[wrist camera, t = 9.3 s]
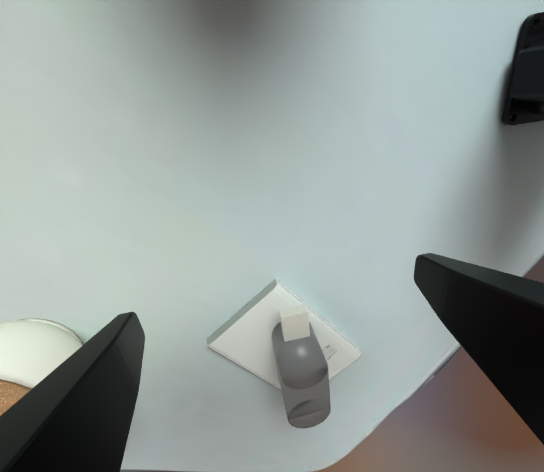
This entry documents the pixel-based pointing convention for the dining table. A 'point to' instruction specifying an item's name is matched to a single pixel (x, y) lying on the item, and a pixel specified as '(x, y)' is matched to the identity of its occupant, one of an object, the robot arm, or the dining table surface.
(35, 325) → the lidded jar
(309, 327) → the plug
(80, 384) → the robot arm
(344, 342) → the external hard drive
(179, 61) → the dining table surface
